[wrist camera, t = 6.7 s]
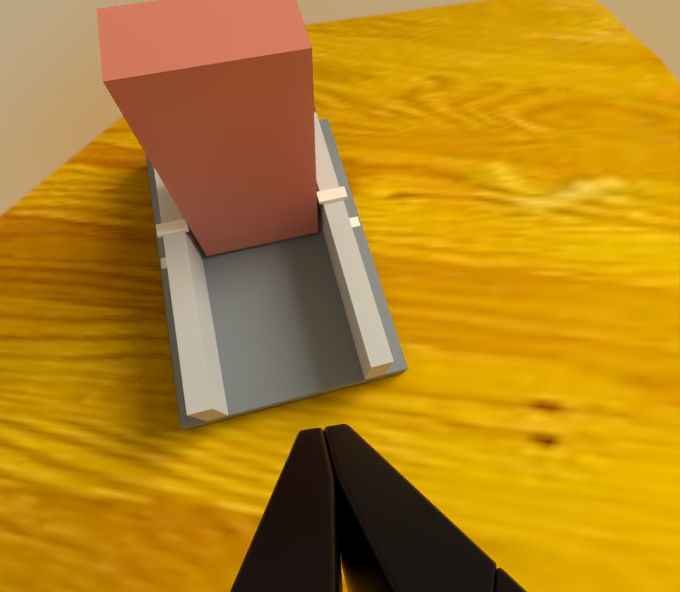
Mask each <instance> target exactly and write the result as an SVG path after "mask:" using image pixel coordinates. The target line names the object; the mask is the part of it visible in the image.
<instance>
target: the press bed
mask: <svg viewBox="0 0 680 592" xmlns="http://www.w3.org/2000/svg"><path fill="white" fill-rule="evenodd" d="M314 126H315V156H316V186H317V216H318V232H317V233H312V234H307V235H303V236H298V237H294V238H289V239H284V240H280V241H275V242H270V243H266V244H261V245H256V246H252V247H247V248H243V249H238V250H233V251H229V252H224V253H219V254H215V255H210V256H206V254H205V252H204V251H203V249H202V247H201V246H200V244H199V242H198V240H197V239H196V237H195V235H194V234H193V232H192V230H191V229H190V227H189V225H188V224H187V222H186V220H185V219H184V217H183V215H182V214H181V212H180V210H179V209H178V207H177V205H176V203H175V202H174V200H173V198H172V197H171V195H170V193H169V192H168V190H167V188H166V187H165V185H164V183H163V182H162V180H161V178H160V177H159V175H158V173H157V171H156V170H155V168H154V166H153V165H152V163H151V161H150V160H149V158H148V156H147V155H146V159H147V167H148V175H149V182H150V190H151V198H152V206H153V214H154V222H155V230H156V238H157V246H158V254H159V262H160V269H161V277H162V285H163V293H164V301H165V309H166V317H167V325H168V333H169V341H170V349H171V356H172V364H173V372H174V380H175V388H176V396H177V404H178V412H179V420H180V428H183V429H191V428H194V427H198V426H202V425H206V424H210V423H213V422H217V421H221V420H225V419H229V418H232V417H236V416H240V415H244V414H248V413H251V412H255V411H259V410H263V409H266V408H270V407H274V406H278V405H282V404H285V403H289V402H293V401H297V400H301V399H304V398H308V397H312V396H316V395H320V394H323V393H327V392H331V391H335V390H339V389H342V388H346V387H350V386H354V385H357V384H361V383H365V382H369V381H373V380H376V379H380V378H384V377H388V376H392V375H395V374H399V373H403V372H405V371H406V370H407V369H408V367H407V364H406V361H405V358H404V355H403V352H402V349H401V346H400V342H399V339H398V336H397V333H396V330H395V327H394V324H393V321H392V318H391V314H390V311H389V308H388V305H387V302H386V299H385V296H384V293H383V290H382V287H381V283H380V280H379V277H378V274H377V271H376V268H375V265H374V262H373V259H372V255H371V252H370V249H369V246H368V243H367V240H366V237H365V234H364V231H363V227H362V224H361V221H360V218H359V215H358V212H357V209H356V206H355V203H354V200H353V196H352V193H351V190H350V187H349V184H348V181H347V178H346V175H345V172H344V168H343V165H342V162H341V159H340V156H339V153H338V150H337V147H336V144H335V140H334V137H333V134H332V131H331V128H330V125H329V122H328V119H323V120H318V117H317V114H316V110H315V107H314Z"/></svg>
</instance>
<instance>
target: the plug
mask: <svg viewBox="0 0 680 592" xmlns="http://www.w3.org/2000/svg"><path fill="white" fill-rule="evenodd" d="M97 19H98V31H99V42H100V52H101V64H102V75H103V82H104V84H105V85H106V87H107V89H108V91H109V92H110V94H111V96H112V97H113V99H114V101H115V102H116V104H117V106H118V107H119V109H120V111H121V112H122V114H123V116H124V118H125V119H126V121H127V123H128V124H129V126H130V128H131V129H132V131H133V133H134V134H135V136H136V138H137V139H138V141H139V143H140V145H141V146H142V148H143V150H144V151H145V153H146V155H147V156H148V158H149V160H150V161H151V163H152V165H153V166H154V168H155V170H156V171H157V173H158V175H159V177H160V178H161V180H162V182H163V183H164V185H165V187H166V188H167V190H168V192H169V193H170V195H171V197H172V198H173V200H174V202H175V203H176V205H177V207H178V209H179V210H180V212H181V214H182V215H183V217H184V219H185V220H186V222H187V224H188V225H189V227H190V229H191V230H192V232H193V234H194V235H195V237H196V239H197V240H198V242H199V244H200V246H201V247H202V249H203V251H204V252H205V254H206V256H210V255H215V254H219V253H224V252H229V251H233V250H238V249H243V248H247V247H252V246H256V245H261V244H266V243H270V242H275V241H280V240H284V239H289V238H294V237H298V236H303V235H307V234H312V233H317V232H318V216H317V186H316V156H315V126H314V96H313V66H312V47H311V44H310V41H309V38H308V35H307V32H306V29H305V25H304V22H303V19H302V17H301V13H300V11H299V7H298V4H297V1H296V0H157V1H150V2H143V3H136V4H129V5H123V6H115V7H108V8H101V9H97Z"/></svg>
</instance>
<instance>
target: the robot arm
mask: <svg viewBox="0 0 680 592" xmlns="http://www.w3.org/2000/svg"><path fill="white" fill-rule="evenodd" d="M341 563H342V568H343V573H344V577H345V581H346V585H347V588H348V592H527V591H525V590H524V589H523V588H522V587H521V586H520V585H519V584H518V583H517V582H516V581H515V580H514V579H513V578H512V577H510V576H509V575H508V574H507V573H506V572H505V571H504V570H503V569H502V568H497V570H496V563H495V562H494V561H493V560H492V559H491V558H490V557H489V556H488V555H487V554H486V553H485V552H483V551H482V550H481V549H480V548H479V547H478V546H477V545H476V544H475V543H474V542H473V541H472V540H471V539H470V538H469V537H467V536H466V535H465V534H464V533H463V532H462V531H461V530H460V529H459V528H458V527H457V526H456V525H455V524H454V523H453V522H451V521H450V520H449V519H448V518H447V517H446V516H445V515H444V514H443V513H442V512H441V511H440V510H439V509H438V508H437V507H435V506H434V505H433V504H432V503H431V502H430V501H429V500H428V499H427V498H426V497H425V496H424V495H423V494H422V493H420V492H419V491H418V490H417V489H416V488H415V487H414V486H413V485H412V484H411V483H410V482H409V481H408V480H407V479H406V478H404V477H403V476H402V475H401V474H400V473H399V472H398V471H397V470H396V469H395V468H394V467H393V466H392V465H391V464H390V463H388V462H387V461H386V460H385V459H384V458H383V457H382V456H381V455H380V454H379V453H378V452H377V451H376V450H375V449H373V448H372V447H371V446H370V445H369V444H368V443H367V442H366V441H365V440H364V439H363V438H362V437H361V436H360V435H359V434H357V433H356V432H355V431H354V430H353V429H352V428H351V427H350V426H349V425H347V424H340V425H334V426H328V427H326V428H325V429H324V431H323V430H322V429H321V428H314V429H308V430H302V431H300V432H299V433H298V435H297V437H296V439H295V441H294V444H293V446H292V448H291V451H290V453H289V455H288V458H287V460H286V462H285V465H284V467H283V469H282V472H281V474H280V476H279V479H278V481H277V483H276V486H275V488H274V490H273V493H272V495H271V497H270V500H269V502H268V504H267V507H266V509H265V511H264V514H263V516H262V518H261V521H260V523H259V525H258V528H257V530H256V532H255V535H254V537H253V539H252V542H251V544H250V546H249V549H248V551H247V553H246V556H245V558H244V560H243V563H242V565H241V567H240V570H239V572H238V574H237V577H236V579H235V581H234V584H233V586H232V588H231V591H230V592H343V587H342V572H341Z"/></svg>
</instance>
